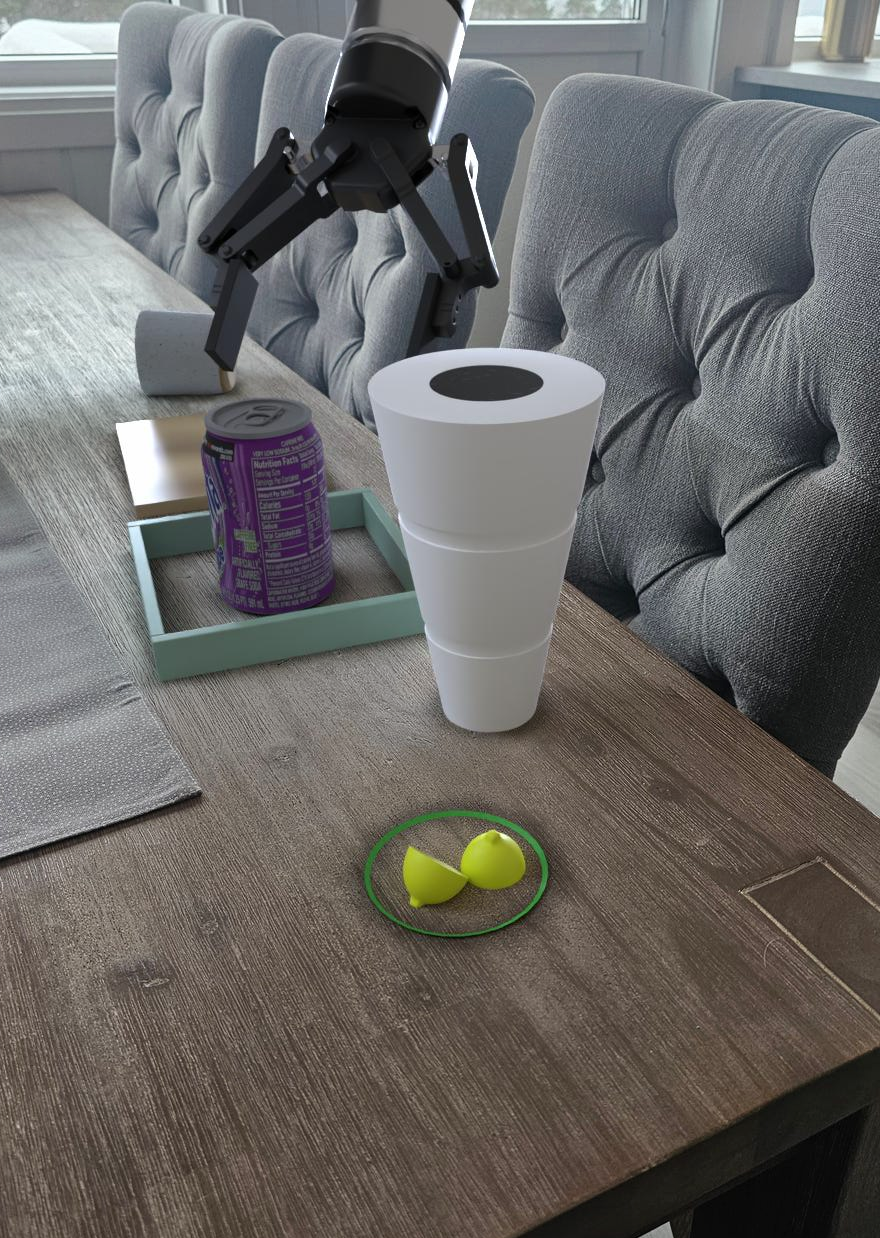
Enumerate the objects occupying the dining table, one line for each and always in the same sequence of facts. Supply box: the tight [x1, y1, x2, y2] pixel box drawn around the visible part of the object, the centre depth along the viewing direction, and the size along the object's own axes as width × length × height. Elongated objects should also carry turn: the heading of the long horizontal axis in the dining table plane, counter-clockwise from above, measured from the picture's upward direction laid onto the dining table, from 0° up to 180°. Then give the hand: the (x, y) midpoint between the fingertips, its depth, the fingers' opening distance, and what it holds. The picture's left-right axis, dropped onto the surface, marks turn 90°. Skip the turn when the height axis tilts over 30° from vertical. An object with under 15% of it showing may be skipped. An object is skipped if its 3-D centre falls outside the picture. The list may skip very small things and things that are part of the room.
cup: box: [367, 347, 606, 733], centre depth 55 cm, size 11×11×18 cm
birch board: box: [114, 412, 329, 520], centre depth 89 cm, size 18×14×2 cm
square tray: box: [126, 486, 426, 683], centre depth 70 cm, size 17×17×3 cm
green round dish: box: [363, 810, 549, 937], centre depth 48 cm, size 8×8×3 cm
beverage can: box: [201, 396, 336, 615], centre depth 68 cm, size 7×7×12 cm
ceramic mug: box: [134, 308, 238, 397], centre depth 104 cm, size 11×8×8 cm
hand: (313, 371), depth 70 cm, fingers open, 13 cm apart
